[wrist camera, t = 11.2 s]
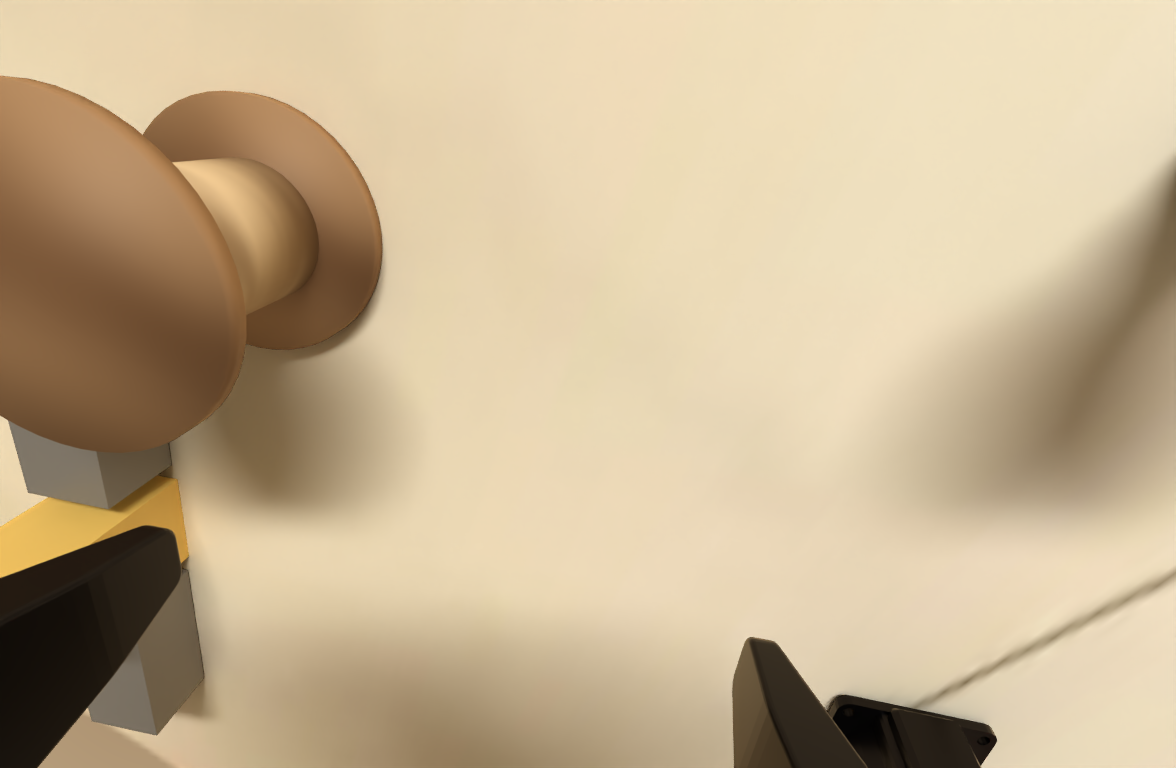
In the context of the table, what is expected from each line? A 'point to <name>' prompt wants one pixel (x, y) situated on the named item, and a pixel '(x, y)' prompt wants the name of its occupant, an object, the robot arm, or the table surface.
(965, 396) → the table surface
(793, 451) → the table surface
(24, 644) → the robot arm
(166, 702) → the grey square bar
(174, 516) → the tab block
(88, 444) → the bobbin
